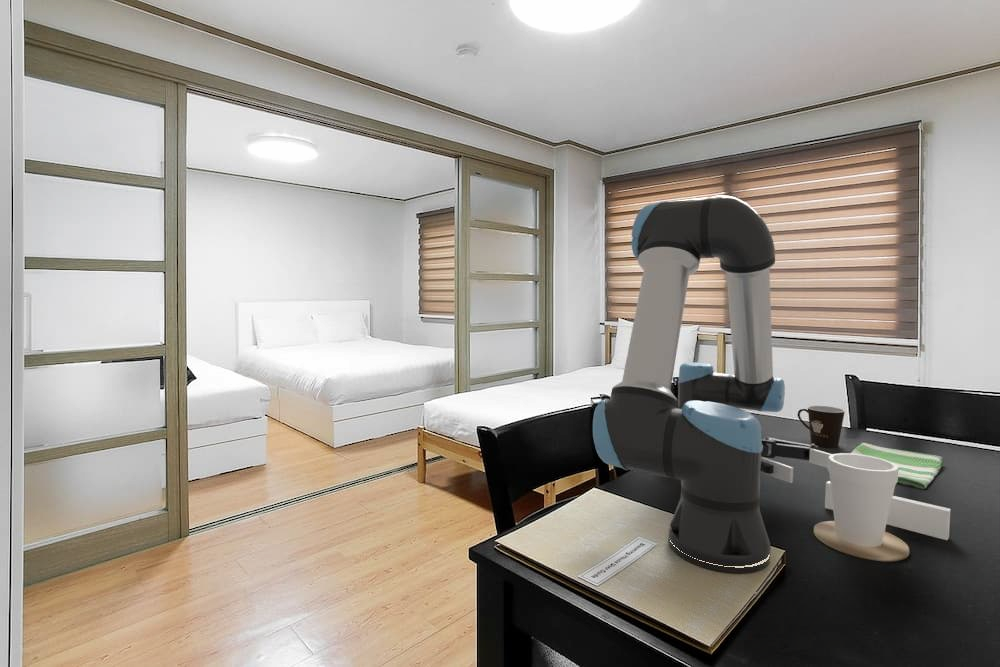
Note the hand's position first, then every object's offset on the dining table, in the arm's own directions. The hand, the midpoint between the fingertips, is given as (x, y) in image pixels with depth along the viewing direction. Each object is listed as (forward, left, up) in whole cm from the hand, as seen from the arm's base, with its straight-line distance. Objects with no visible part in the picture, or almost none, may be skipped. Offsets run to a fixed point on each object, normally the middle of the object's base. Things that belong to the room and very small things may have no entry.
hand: (818, 470), depth 91 cm
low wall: (+9, -8, -10) cm, 16 cm away
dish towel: (+47, -2, -10) cm, 49 cm away
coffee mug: (+58, +15, -10) cm, 61 cm away
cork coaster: (-3, -7, -10) cm, 12 cm away
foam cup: (-3, -7, -9) cm, 12 cm away
